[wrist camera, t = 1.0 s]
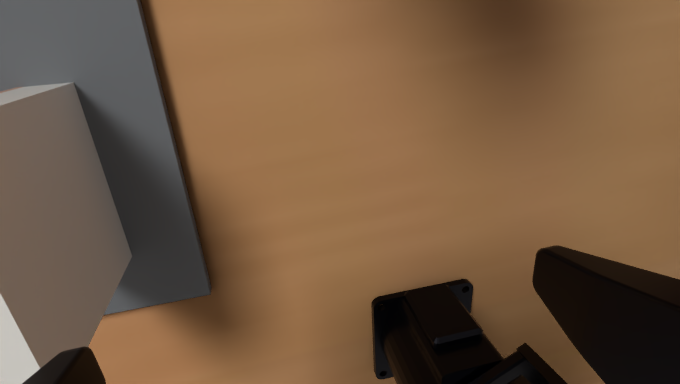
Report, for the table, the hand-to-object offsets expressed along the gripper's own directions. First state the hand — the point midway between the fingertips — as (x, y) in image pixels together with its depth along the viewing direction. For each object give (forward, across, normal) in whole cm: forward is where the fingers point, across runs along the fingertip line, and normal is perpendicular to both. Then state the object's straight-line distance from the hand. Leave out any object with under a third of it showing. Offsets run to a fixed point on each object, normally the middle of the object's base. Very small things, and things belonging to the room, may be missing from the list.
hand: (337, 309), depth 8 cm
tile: (+11, +9, 0) cm, 14 cm away
